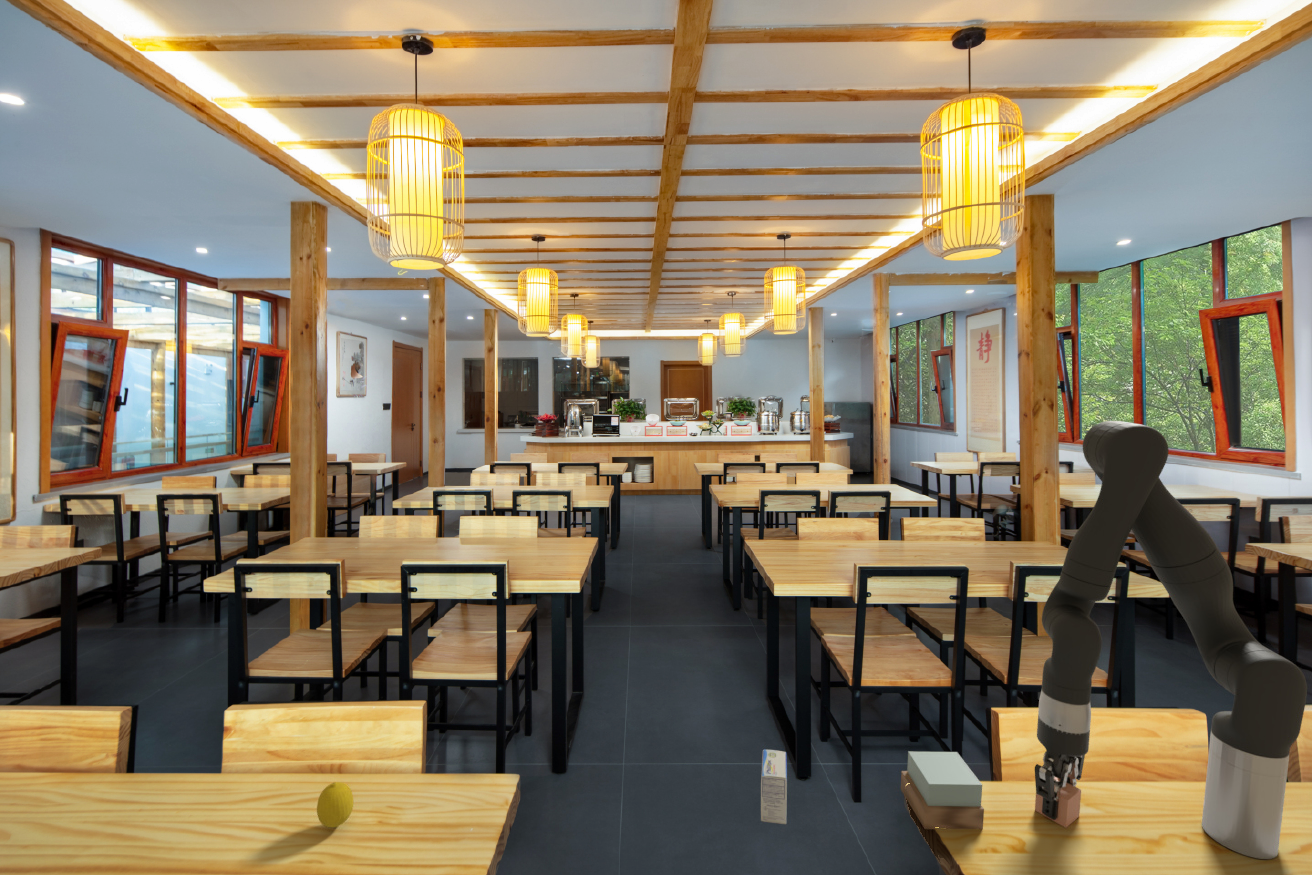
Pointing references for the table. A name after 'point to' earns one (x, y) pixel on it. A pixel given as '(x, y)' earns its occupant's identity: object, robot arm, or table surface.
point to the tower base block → (940, 810)
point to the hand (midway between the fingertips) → (1057, 809)
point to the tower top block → (944, 779)
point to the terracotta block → (1064, 804)
